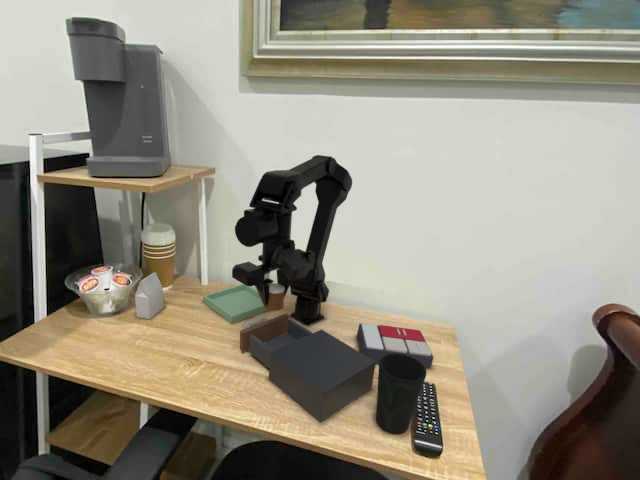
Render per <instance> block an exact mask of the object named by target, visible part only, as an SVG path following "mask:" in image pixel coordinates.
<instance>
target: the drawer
mask: <svg viewBox="0 0 640 480" xmlns="http://www.w3.org/2000/svg"><path fill="white" fill-rule="evenodd" d="M242 328H243V329H240V330H239V350H240V351H241V352H245V351H247V350H248V353H249V354H250V355H252V356H253V357H254V358H255V359H256V360H258V361H259V362H261V363H262V364H263V365H264V366H265V367H267V368H268V369H269V368H270V352H272V351H274V350H276V349H279V348H281V347H283V346H285V345H288V344H290V343H292V342H294V341H297V340H299V339H301V338H303V337H306V336H308V335H310V334H312V333H313V332H312V331H311V330H309V329H307V328H306V327H304V326H303V325H301V324H299V323H298V322H297V321H294V320H293V319H290V315H289V313H283V314H281V315H278V316H276V317H272V318H270V319H267V318H266V317H265V316H261V317H258V318H255V319H253V320H250V321H247V322H245V323H242Z"/></svg>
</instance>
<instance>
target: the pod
mask: <svg viewBox="0 0 640 480" xmlns="http://www.w3.org/2000/svg"><path fill="white" fill-rule="evenodd" d="M284 290H285V287H284V286H283V285H280V284H278V283H274V282H273V283H272V284H270V286H269V300H268V305H264V308H266V309H267V310H268V311H273V312H276V311H277V312H278V311H281V310H283V308H284V303H285V297H284Z"/></svg>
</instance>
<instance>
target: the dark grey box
mask: <svg viewBox="0 0 640 480" xmlns="http://www.w3.org/2000/svg"><path fill="white" fill-rule="evenodd" d="M376 365H377V364H376V362H375V361H374V360H372V359H370V358H369V357H367V356H365V355H364V354H362V353H360V350H357V349H355V348H353V347H352V346H350V345H349V344H347V343H345V342H344V341H343V340H340V339H338V338H337V337H335V336H333V335H332V334H331V333H328V331H325V330H323V328H322V329H319V330H316V331H315V332H312V334H310V335H308V336H306V337H303V338H301V339H299V340H297V341H294V342H292V343H290V344H288V345H285V346H283V347H281V348H279V349H276V350H274V351H272V352H270V368H268V369H269V371H268V380H269V381H270V382H271V383H272V384H273V385H275V386H276V387H277V388H278V389H280V391H282V392H283V393H284V394H285V395H286V396H288V397H289V398H290V399H291V400H293V401H294V402H295V403H296V404H298V405H299V406H300V407H301V408H302V409H304V410H305V411H306V412H307V413H308V414H310V416H312V417H313V418H314V419H315V420H316V421H318V422H319V423H323V422H324V421H325V420H327V419H328V418H330V417H332V416H333V415H336V413H338V412H339V411H341V410H343V409H344V408H346V407H347V406H349V405H350V404H351V403H353V402H354V401H356V400H358V399H359V398H361V397H363V395H365V394H366V393H368V392H370V391H371V390H372V387H373V382H374V376H375V369H376Z"/></svg>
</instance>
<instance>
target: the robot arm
mask: <svg viewBox="0 0 640 480" xmlns="http://www.w3.org/2000/svg"><path fill="white" fill-rule="evenodd" d="M313 183H314V184H315V195H316V199H317V202H318V204H317V208H316V211H315V214H314V218H313V222H312V226H311V228H310V233H309V237H308V241H307V244H306V248H305V250H303V249H300V248H296V242H295V240H293V239H291V237H292V235H291V234H292V219H293V212H296V211H297V210H298V207H297V206H296V205H295V202H296V201H297V200H298V199H299V198H300V197H301V196H302V190H303V189H305V188H306V187H308V186H310V185H312V184H313ZM352 187H353V178H352V176H351V174H350V172H349V170H347V168H344V167H343V166H342V165H341V164H339V163H338V162H337V160H336V158H335V157H333V156H330V155H321V154H316V155H313V156H312V157H311V158H310V159H308V160H306V161H304V162H301V163H300V164H298V165H295V166H293V167H291V168H290V169H278V170H270V171H266V172H264V173H263V175H262V176H261V178H260V180H259V181H258V184H257V186H256V189H255V191H254V193H253V195H252V198H251V200H250V202H249V206H248V207H249V208H247V209H244V210H243V216H242V217H240V218H239V219H238V220H237V221H236V224H235V226H234V235H235V237H236V239H237V241H238V242H239V243H240V244H241V245H242V246H244V247H246V248H252V247H254V246H258V245H260V244H262V252H261V254H259V255H258V256H257V259H258V261H259V262H261V264H259V265H258V264H257V265H256V264H254V263H252V262H251V261H246V262H241V263H237V264H235V265H234V266H233V267H232V270H231V278H232V279H234V280H235V281H238V282H239V283H241V284H244V285H246V286H249V287H253V286H254V287H255V290H256V291H258V293H259V295H260V298H261V300H262V302H263V304H264V305H268V300H269V286H270V284H272V283H274V280H273V279H271V278H270V276H271V275H270V274H271V272H274V271H275V272H276V281H277V283H276V284H280V285H283V286H284V287H285V290H284V298H286V295H287V293H288V290H289V289H290V295H291V296H294V297H295V296H296V297H295V300H296V301H295V303H294V311H293V312H291V313H290V316H291V317H292V318H294V319H296V320H297V321H299V322H301V323H302V324H304V325H306V326H310V325H312V324H314V323H316V322H319V321H321V320H324V319H325V316H324V315H322V314H321V309H322V303H326V302H327V300H328V297H329V296H330V295H329V294H330V289H329V287H328V286H327V284H326V283H325V279H326V271H325V268H324V265H323V262H324V258H325V255H326V251H327V247H328V243H329V240H330V235H331V232H332V229H333V225H334V222H335V216H336V213H337V211H338V208H339V207H340V206H341V205H342V204H343V203H344V202H345V201H347V199H348V194H349V192H350V191H351V189H352Z"/></svg>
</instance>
